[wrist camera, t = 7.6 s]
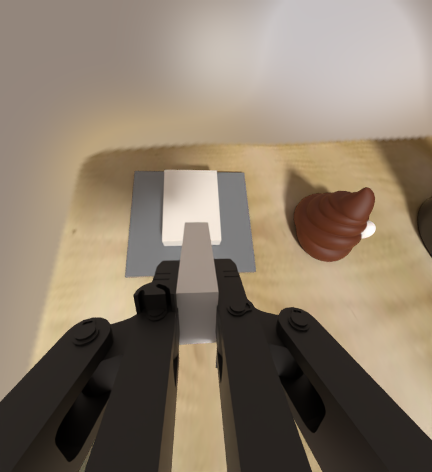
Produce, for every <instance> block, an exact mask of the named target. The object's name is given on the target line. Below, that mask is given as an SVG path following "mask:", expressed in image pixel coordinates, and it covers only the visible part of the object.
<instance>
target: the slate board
mask: <svg viewBox="0 0 432 472" xmlns="http://www.w3.org/2000/svg"><path fill="white" fill-rule="evenodd" d="M217 182H218V197H219V211H220V226H221V242H220V245H212V252H213V258H214V259H231V260H232V261H233V262H234V263H235V264H236V266H237V269H238V272H239V273H251V272H256V267H255V259H254V251H253V242H252V234H251V226H250V217H249V209H248V201H247V193H246V184H245V176H244V173H228V172H217ZM163 198H164V171H135V174H134V185H133V196H132V207H131V218H130V229H129V240H128V251H127V262H126V273H125V277H126V278H133V277H154V275H155V271H156V268H157V266H158V265H159V264H160V263H161V262H162V261H166V260H180V258H181V250H182V246H164V244H163V242H162V227H163Z"/></svg>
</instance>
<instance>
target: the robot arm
mask: <svg viewBox="0 0 432 472" xmlns="http://www.w3.org/2000/svg"><path fill="white" fill-rule="evenodd" d="M418 226H419V231H420V234H421V237H422V240H423V242H424V244H425V246H426V247H427V249H428V251H429V252H430V254H431V255H432V197H431V198H429V199H427V200H426V201H425V202H424V203H423V204H422V206H421V208H420V210H419V214H418ZM133 296H134V302H135V307H136V312H137V314H136V315H135V316H133V317H131V318H129V319H126V320H124V321H120V322H117V323H114V324H110V323H109V322H108V321H107V320H106V319H104V318H101V317H100V318H90V319H86V320H83V321H81V322H79V323H78V324H76V325H74V326H73V327H72V328H71V329H69V330H68V331H67V332H66V333H65V334H64V335H63V336H62V337H61V338H60V339H59V340H58V342H57V343H56V344H55V345H54V346H53V347H52V348H51V349H50V350H49V351H48V352H47V353H46V354H45V355H44V356H43V357H42V358H41V359H40V361H39V362H38V363H37V364H36V365H35V366H34V367H33V368H32V369H31V370H30V371H29V372H28V373H27V374H26V375H25V376H24V377H23V378H22V380H21V381H20V382H19V383H18V384H17V385H16V386H15V387H14V388H13V389H12V390H11V391H10V392H9V393H8V394H7V395H6V397H4V399H3V400H2V401H1V402H0V472H78V471H79V469H80V468H81V466H82V464H83V462H84V460H85V458H86V456H87V454H88V452H89V450H90V448H91V446H92V444H93V442H94V440H95V442H94V445H93V448H92V451H91V454H90V457H89V460H88V463H87V466H86V469H85V472H171V468H172V454H173V440H174V426H175V412H176V398H177V383H178V369H179V344H180V345H182V344H198V343H214V342H217V356H216V368H218V377H219V388H220V399H221V409H222V420H223V431H224V441H225V452H226V463H227V472H312V470H311V467H310V464H309V461H308V459H307V456H306V453H305V450H304V447H303V444H302V441H301V438H300V436H299V433H298V430H297V427H296V424H297V426H298V427H299V429H300V431H301V433H302V435H303V437H304V438H305V440H306V442H307V444H308V446H309V448H310V449H311V451H312V453H313V455H314V457H315V459H316V460H317V462H318V464H319V466H320V468H321V470H322V472H432V440H431V439H430V438H429V437H428V436H427V435H426V434H425V433H424V432H423V431H422V430H421V429H420V427H419V426H418V425H417V424H416V423H415V422H414V421H413V420H412V419H411V418H410V417H409V416H408V415H407V414H406V413H405V412H404V411H403V410H402V409H401V408H400V407H399V406H398V405H397V404H396V402H395V401H394V400H393V399H392V398H391V397H390V396H389V395H388V394H387V393H386V392H385V391H384V390H383V389H382V388H381V387H380V386H379V385H378V384H377V383H376V382H375V381H374V380H373V378H372V377H371V376H370V375H369V374H368V373H367V372H366V371H365V370H364V369H363V368H362V367H361V366H360V365H359V364H358V363H357V362H356V361H355V360H354V359H353V358H352V357H351V356H350V355H349V353H348V352H347V351H346V350H345V349H344V348H343V347H342V346H341V345H340V344H339V343H338V342H337V341H336V340H335V339H334V338H333V337H332V336H331V335H330V334H329V333H328V332H327V331H326V329H325V328H324V327H323V326H322V325H321V324H320V323H319V322H318V321H317V320H316V319H315V318H314V317H313V316H312V315H310V314H309V313H308V312H306V311H304V310H302V309H299V308H294V307H291V308H285V309H283V310H281V312H280V314H279V315H275V314H271V313H266V312H263V311H260V310H258V309H256V308H255V307H254V305H253V304H252V303H251V302H250V301H249V300H248V299H247V297H246V294H245V291H244V288H243V285H242V282H241V278H240V275H239V272H238V269H237V266H236V264H235V263H234V262H233V261H232V260H231V259H214V258H213V252H212V245H211V238H210V232H209V225H208V222H185V226H184V234H183V242H182V250H181V258H180V260H166V261H162V262H161V263H160V264H159V265H158V266H157V268H156V271H155V275H154V278H153V281H152V283H148V284H146V285H143V286H142V287H140V288H139V289H138V290H137V291H136V292H135V294H134V295H133ZM294 420H295V421H294ZM295 422H296V424H295ZM95 438H96V439H95Z"/></svg>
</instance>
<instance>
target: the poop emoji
mask: <svg viewBox="0 0 432 472" xmlns="http://www.w3.org/2000/svg"><path fill="white" fill-rule="evenodd" d="M374 203H375V196H374V193H373V191H372V190H371V189H370V188H367V187H365V188H363V189H361V190H360V191H358V192H353V193H351V192H347V191H337V192H334V193H323V194H322V193H316V194H312V195H309V196H307V197H305V198H304V199H302V200H301V201H300V202H299V203H298V205H297V207H296V209H295V212H294V222H295V225H296V232H297V237H298V240H299V243H300V245H301V246H302V248H303V249H304V250H305V251H306V252H307V253H308V254H309V255H310V256H312V257H313V258H315V259H318V260H321V261H326V262H332V261H337V260H340V259H342V258H344V257H345V256H346V255H348V254H349V252H350V251H351V250H352V248H353V247H354V246H355V245H357V244H358V243H359V242H360V240H361V238H367V237H369V236H371V235H372V234H373V233H374V232H375V229H376V227H375V224H374V223H373V222H371V221H369V215H370V213H371V212H372V209H373V207H374Z"/></svg>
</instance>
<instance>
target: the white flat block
mask: <svg viewBox="0 0 432 472" xmlns="http://www.w3.org/2000/svg"><path fill="white" fill-rule="evenodd" d="M185 222H208V225H209V232H210V238H211V245H220V242H221V226H220V211H219V197H218V182H217V170H164V198H163V227H162V242H163V244H164V246H182V242H183V234H184V226H185Z"/></svg>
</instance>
